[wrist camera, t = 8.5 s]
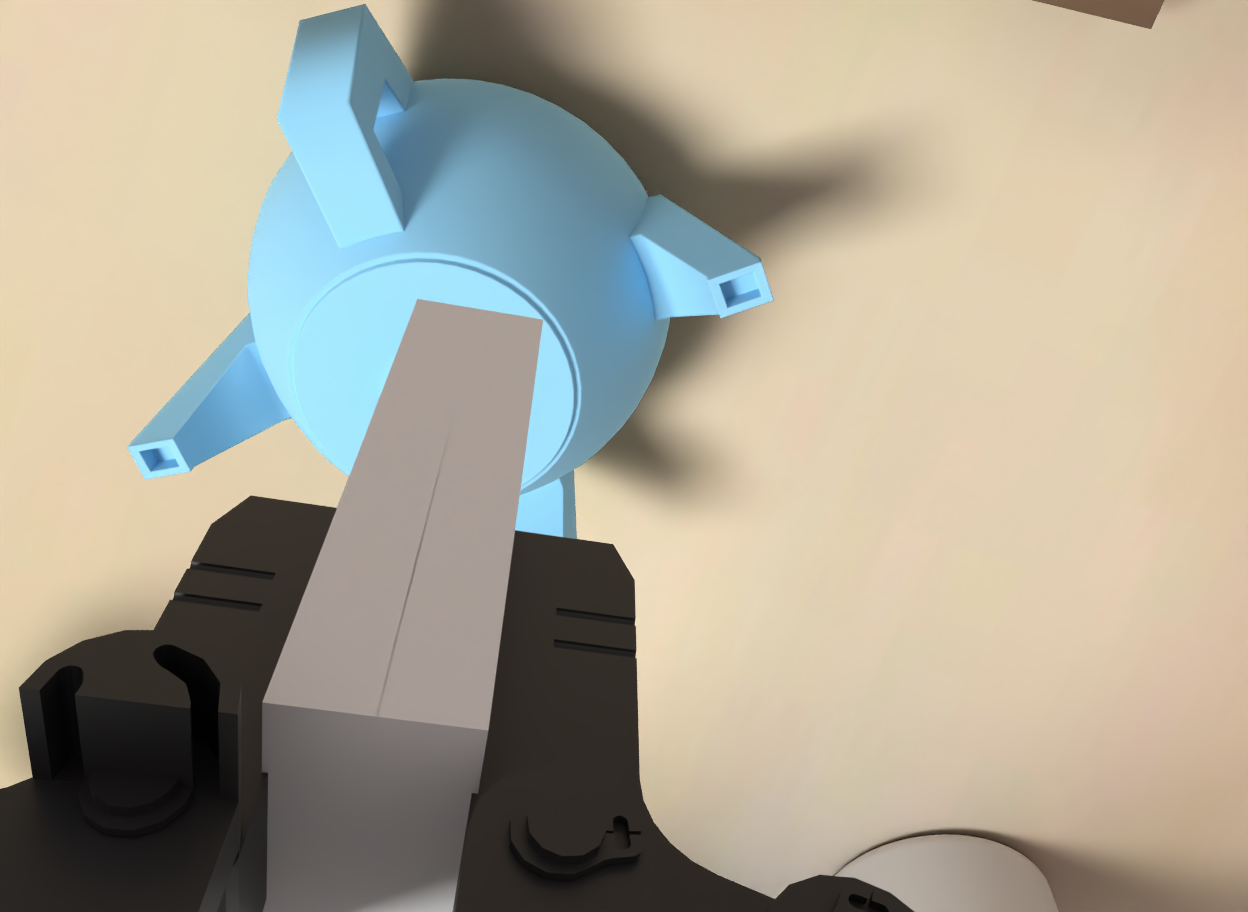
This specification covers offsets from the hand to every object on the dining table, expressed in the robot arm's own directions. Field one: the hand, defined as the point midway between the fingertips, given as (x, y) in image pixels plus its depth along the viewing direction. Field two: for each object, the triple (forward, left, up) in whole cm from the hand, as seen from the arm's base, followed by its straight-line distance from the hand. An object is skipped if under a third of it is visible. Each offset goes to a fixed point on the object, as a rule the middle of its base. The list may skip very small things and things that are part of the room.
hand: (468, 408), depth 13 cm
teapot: (-9, +2, -24) cm, 26 cm away
